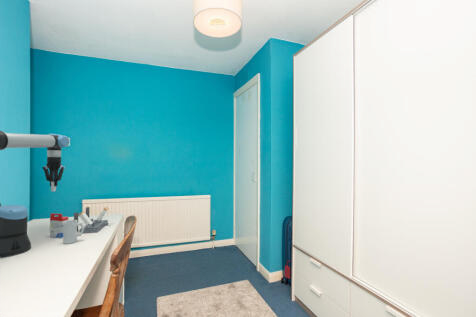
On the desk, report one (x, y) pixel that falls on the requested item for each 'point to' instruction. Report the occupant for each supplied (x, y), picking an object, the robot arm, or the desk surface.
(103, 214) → the paddle
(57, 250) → the desk surface
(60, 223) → the ink box
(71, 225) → the mug
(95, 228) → the breaker panel
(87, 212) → the cable post right
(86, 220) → the paddle
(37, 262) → the desk surface
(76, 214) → the cable post left
